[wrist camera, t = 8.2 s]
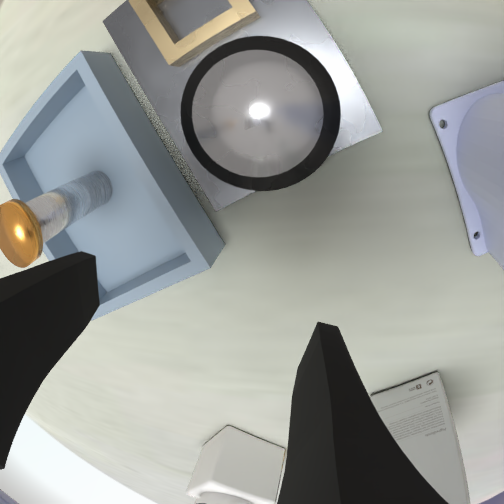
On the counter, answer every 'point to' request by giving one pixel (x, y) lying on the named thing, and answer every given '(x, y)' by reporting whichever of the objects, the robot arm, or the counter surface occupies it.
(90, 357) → the counter surface
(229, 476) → the medicine bottle
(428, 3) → the counter surface
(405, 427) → the skincare box
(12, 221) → the lock pin
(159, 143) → the tray
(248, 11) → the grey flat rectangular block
